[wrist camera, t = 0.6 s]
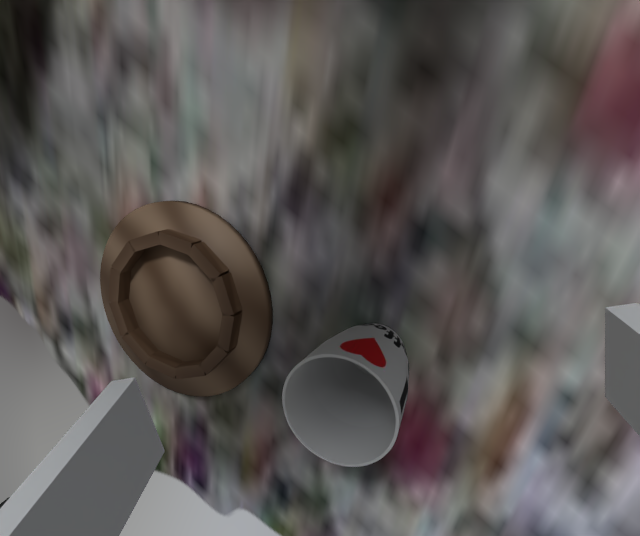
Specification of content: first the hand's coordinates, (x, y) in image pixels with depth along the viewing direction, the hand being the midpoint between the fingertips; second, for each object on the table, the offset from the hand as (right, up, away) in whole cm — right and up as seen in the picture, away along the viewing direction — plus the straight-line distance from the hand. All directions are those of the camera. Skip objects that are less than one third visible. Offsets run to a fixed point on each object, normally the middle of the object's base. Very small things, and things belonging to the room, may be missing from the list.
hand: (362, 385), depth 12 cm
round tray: (-15, 0, +32) cm, 35 cm away
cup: (+4, -4, +26) cm, 26 cm away
